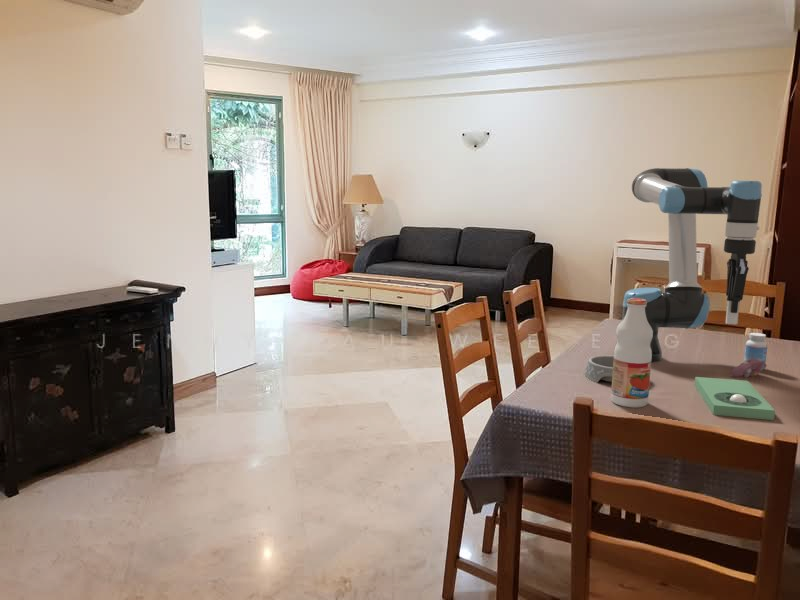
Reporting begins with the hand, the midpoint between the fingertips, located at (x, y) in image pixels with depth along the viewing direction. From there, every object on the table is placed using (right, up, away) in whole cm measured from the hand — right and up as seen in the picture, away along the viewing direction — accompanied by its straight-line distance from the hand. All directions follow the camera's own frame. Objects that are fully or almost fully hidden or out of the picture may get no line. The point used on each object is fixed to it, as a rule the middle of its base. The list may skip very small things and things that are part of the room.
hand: (731, 323), depth 182 cm
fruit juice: (-31, -21, -6) cm, 38 cm away
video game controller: (+15, -17, +20) cm, 30 cm away
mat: (-2, -21, -4) cm, 21 cm away
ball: (-4, -20, -11) cm, 23 cm away
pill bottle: (+22, -16, +28) cm, 39 cm away
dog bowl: (-27, -18, +16) cm, 36 cm away
